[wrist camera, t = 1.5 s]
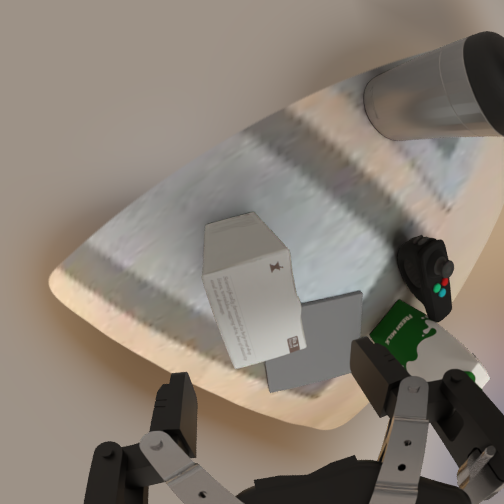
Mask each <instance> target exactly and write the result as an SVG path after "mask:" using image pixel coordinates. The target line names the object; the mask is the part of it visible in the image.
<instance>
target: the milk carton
mask: <svg viewBox="0 0 504 504" xmlns="http://www.w3.org/2000/svg"><path fill="white" fill-rule="evenodd" d="M370 336H371V338H372V339H373V341H374V342H375V343H379V344H381V345H383V346H385V347H386V348H387V349H388V350H389V351H390V352H391V354H392V355H393V356H394V357H395V358H396V359H397V360H398V361H399V362H400V364H401V365H402V366H403V367H404V368H405V369H406V370H407V371H408V373H409V374H410V375H411V376H418V377H421V378H423V379H425V380H426V381H427V382H429V381H435V380H440V379H442V378H443V375H444V373H445V372H446V371H448V370H450V369H460V370H462V371H464V372H465V373H466V374H467V375H468V376H469V377H470V378H471V379H472V380H473V381H474V382H475V383H476V384H477V386H478V387H479V388H480V389H481V390H482V388H483V387H484V385H485V384H486V383H487V382H488V380H489V379H490V377H489V376H488V373H487V371H486V369H485V368H484V366H483V365H482V363H481V362H480V361H479V360H478V358H477V360H478V361H477V360H476V359H475V357H476V356H475V355H474V354H473V353H472V354H473V355H474V356H473V355H472V354H471V353H470V351H469V350H468V349H467V348H466V347H465V346H464V345H463V344H462V343H461V342H460V341H459V340H457V339H456V338H455V337H453V336H452V335H451V334H450V333H449V332H448V331H446V330H445V329H444V328H443V327H441V326H440V325H439V324H438V323H436V322H434V321H432V320H430V319H429V318H428V316H427V315H426V314H424V313H423V312H421V311H419V310H417V309H415V308H414V307H412V306H410V305H408V304H407V303H405V302H403V301H401V300H399V299H398V301H397V302H396V303H395V305H394V306H393V307H392V308H391V310H390V311H389V312H388V313H387V315H386V316H385V317H384V318H383V319H382V321H381V322H380V323H379V324H378V325H377V327H376V328H375V329H374V330H373V331H372V333H371V334H370Z"/></svg>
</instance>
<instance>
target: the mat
mask: <svg viewBox="0 0 504 504" xmlns="http://www.w3.org/2000/svg"><path fill="white" fill-rule="evenodd" d="M362 295H363V293H362V292H361V291H357V292H353V293H348V294H344V295H340V296H335V297H331V298H326V299H321V300H317V301H312V302H307V303H302V304H301V320H302V325H303V330H304V335H305V340H306V345H307V347H306V348H304V349H301V350H298V351H295V352H292V353H289V354H286V355H283V356H280V357H277V358H274V359H270V360H267V361H265V365H266V372H267V379H268V386H269V391H270V393H271V392H277V391H281V390H286V389H291V388H295V387H300V386H304V385H308V384H312V383H316V382H320V381H324V380H328V379H331V378H335V377H338V376H342V375H345V374H349V373H351V370H350V352H351V342H352V340H355V339H358V338H360V331H361V316H362Z"/></svg>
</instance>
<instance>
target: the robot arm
mask: <svg viewBox="0 0 504 504" xmlns="http://www.w3.org/2000/svg"><path fill="white" fill-rule="evenodd" d="M364 105H365V109H366V112H367V115H368V117H369V119H370V121H371V122H372V124H373V126H374V127H375V128H376V129H377V130H378V131H379V132H380V133H381V134H382V135H384V136H385V137H387V138H389V139H391V140H395V141H406V140H419V139H433V138H450V137H484V136H502V137H504V37H502V36H500V35H499V34H497V33H494V32H488V31H486V32H481V33H478V34H475V35H472V36H469V37H466V38H463V39H461V40H458V41H455V42H453V43H450V44H448V45H446V46H443V47H440V48H438V49H435V50H433V51H431V52H428V53H426V54H424V55H421V56H419V57H417V58H414V59H412V60H410V61H408V62H406V63H403V64H401V65H399V66H397V67H395V68H393V69H391V70H389V71H386V72H384V73H382V74H380V75H378V76H376V77H375V78H373V79H372V80H371V81H370V82H369V83H368V84H367V86H366V89H365V93H364ZM350 370H351V373H352V375H353V377H354V378H355V380H356V381H357V383H358V384H359V386H360V387H361V389H362V391H363V392H364V394H365V395H366V397H367V398H368V400H369V402H370V403H371V405H372V406H373V408H374V410H375V411H376V412H377V414H378V416H379V417H380V418H381V417H384V416H386V415H388V416H389V418H390V419H389V422H388V426H387V430H386V434H385V438H384V441H383V445H382V448H381V451H380V454H379V457H378V460H377V461H374V460H357V459H356V457H355V455H353V456H351V457H347V458H344V459H341V460H338V461H336V462H332V463H330V464H328V465H326V466H324V467H322V468H320V469H318V470H317V471H315V472H313V473H311V474H308V475H292V476H291V475H290V476H275V477H269V478H263V479H257V480H254V483H255V486H252V487H250V488H248V489H246V490H244V491H242V492H241V493H239V494H238V495H237V496H234V495H233V494H231V493H230V492H229V491H228V490H227V489H225V488H224V487H223V486H222V485H221V484H220V483H218V482H217V481H216V480H215V479H214V478H213V477H212V476H211V475H210V474H209V473H208V472H206V471H205V470H204V469H203V468H202V467H201V466H200V465H199V464H197V463H194V462H193V461H192V460H191V459H190V458H196V440H197V438H196V437H197V397H196V394H195V391H194V388H193V385H192V383H191V380H190V377H189V375H188V373H187V372H181V373H172V374H171V378H170V383H169V384H163V385H162V386H161V388H160V389H159V390H158V392H157V396H156V401H155V406H154V407H155V408H154V411H153V416H152V421H151V426H150V431H149V433H147V434H145V435H144V436H143V437H142V439H141V440H140V443H138V444H134V445H130V446H126V447H121V446H120V445H119V444H117V443H115V442H111V441H110V442H109V441H108V442H104V443H101V444H100V445H99V446H97V448H96V449H95V451H94V455H93V460H92V463H91V468H90V473H89V477H88V483H87V488H86V494H85V499H84V504H148V489H149V485H154V484H158V483H162V482H166V484H167V485H168V486H169V487H170V488H171V490H172V491H173V492H174V493H175V494H176V495H177V496H178V498H180V500H181V501H182V502H183V503H184V504H479V503H480V502H482V501H483V500H488V499H490V498H491V497H493V496H494V495H495V494H497V493H498V492H499V491H500V490H501V489H502V488H504V415H503V414H502V413H501V411H500V410H499V409H498V408H497V407H496V406H495V404H494V403H493V402H492V401H491V400H490V399H489V398H488V397H487V396H486V394H485V393H484V392H483V391H482V390H481V389H480V388H479V387H478V386H477V384H476V383H475V382H474V381H473V380H472V379H471V378H470V377H469V376H468V375H467V374H466V373H465V372H464V371H462V370H460V369H450V370H448V371H446V372H445V373H444V375H443V378H442V379H440V380H435V381H429V382H427V381H426V380H425V379H423V378H421V377H418V376H411V375H410V374H409V373H408V371H407V370H406V369H405V368H404V367H403V366H402V365H401V364H400V362H399V361H398V360H397V359H396V358H395V357H394V356H393V355H392V354H391V352H390V351H389V350H388V349H387V348H386V347H385V346H383V345H381V344H379V343H375V344H373V343H372V341H371V340H370V339H369V338H368V337H367V336H365V337H362V338H358V339H355V340H352V342H351V352H350ZM429 423H431V425H432V426H433V428H434V429H435V430H436V432H437V434H438V435H439V437H440V438H441V440H442V442H443V443H444V445H445V446H446V448H447V449H448V451H449V452H450V454H451V456H452V457H453V459H454V460H455V462H456V463H457V465H458V467H459V470H458V472H457V480H458V482H457V483H458V486H459V487H456V486H453V485H449V484H445V483H442V482H438V481H434V480H431V479H428V478H425V477H422V476H420V473H421V469H422V464H423V458H424V453H425V447H426V439H427V433H428V424H429Z"/></svg>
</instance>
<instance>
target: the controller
mask: <svg viewBox="0 0 504 504" xmlns="http://www.w3.org/2000/svg"><path fill="white" fill-rule="evenodd" d="M398 265H399V269H400V272H401V275H402V277H403V279H404V281H405V282H406V284H407V286H408V288H409V289H410V291H411V292H412V293H413V294H414V296H415V297H416V298H417V299H418V300H419V301H420V302H422V304H423V305H424V307H425V309H426V312H427V315H428V318H429V319H430V320H432V321H434V322H440V321H441V320H443V319H444V318H445V317H446V316H447V315H448V314H449V313H450V312H451V310H452V302H451V290H450V281H449V277H450V276H451V275H452V273H453V270H454V264H453V262H452V261H450V260H448V256H447V251H446V247H445V244H444V242H443V240H436V239H434V238H428V237H423V236H422V235H420V236H418V237H414V238H412V239H410V240H409V241H407V242H406V243H405V244H403V245H402V247H401V248H400V250H399V252H398Z"/></svg>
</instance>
